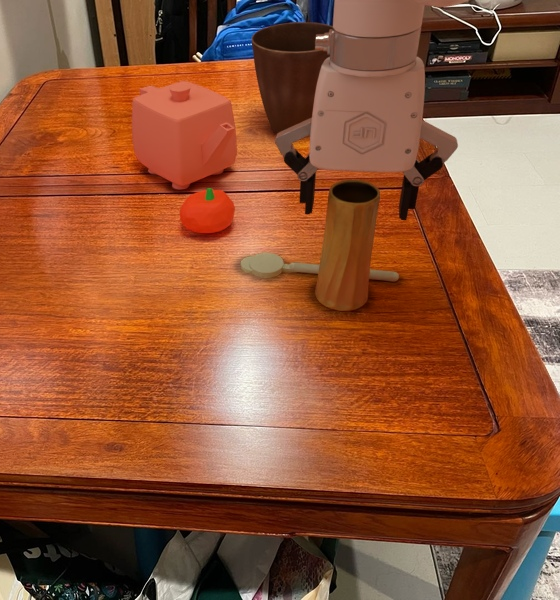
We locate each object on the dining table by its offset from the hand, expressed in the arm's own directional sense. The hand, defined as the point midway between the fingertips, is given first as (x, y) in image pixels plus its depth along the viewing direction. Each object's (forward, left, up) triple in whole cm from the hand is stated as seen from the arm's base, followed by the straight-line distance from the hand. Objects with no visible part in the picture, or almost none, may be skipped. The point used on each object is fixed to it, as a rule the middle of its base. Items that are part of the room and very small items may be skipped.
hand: (355, 210), depth 67 cm
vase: (0, 0, -12) cm, 12 cm away
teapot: (+26, -28, -12) cm, 41 cm away
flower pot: (+11, -46, -12) cm, 49 cm away
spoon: (+4, -4, -12) cm, 13 cm away
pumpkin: (+19, -12, -12) cm, 26 cm away
